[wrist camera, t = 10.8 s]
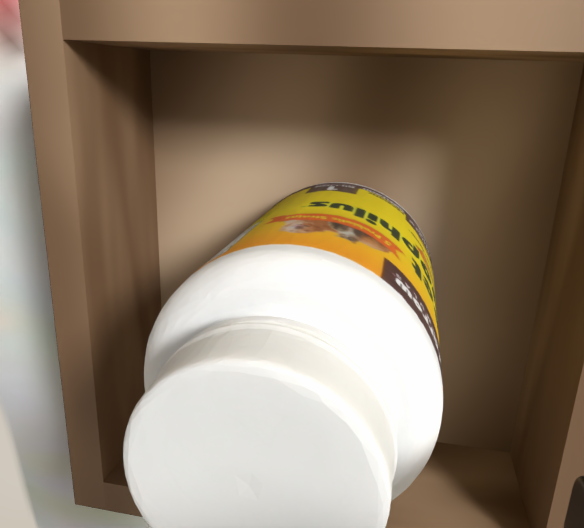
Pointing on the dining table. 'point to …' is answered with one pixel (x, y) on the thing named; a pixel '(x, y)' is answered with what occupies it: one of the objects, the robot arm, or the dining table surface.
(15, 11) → the dining table surface
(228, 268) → the supplement bottle
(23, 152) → the dining table surface
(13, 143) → the dining table surface
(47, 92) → the walnut box
